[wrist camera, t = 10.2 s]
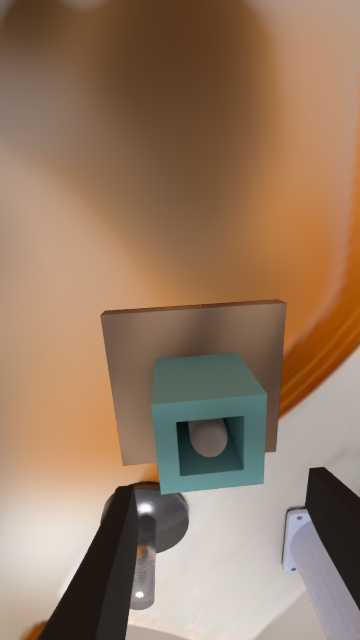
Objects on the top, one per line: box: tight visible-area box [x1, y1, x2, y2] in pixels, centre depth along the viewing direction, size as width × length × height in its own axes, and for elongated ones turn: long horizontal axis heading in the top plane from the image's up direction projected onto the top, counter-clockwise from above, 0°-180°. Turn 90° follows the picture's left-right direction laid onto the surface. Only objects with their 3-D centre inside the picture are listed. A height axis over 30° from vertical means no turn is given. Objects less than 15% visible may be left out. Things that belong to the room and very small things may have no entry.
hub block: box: [101, 299, 286, 466], centre depth 15 cm, size 12×12×6 cm
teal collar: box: [151, 353, 267, 494], centre depth 15 cm, size 6×6×5 cm
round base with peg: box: [100, 482, 189, 610], centre depth 19 cm, size 8×8×6 cm
